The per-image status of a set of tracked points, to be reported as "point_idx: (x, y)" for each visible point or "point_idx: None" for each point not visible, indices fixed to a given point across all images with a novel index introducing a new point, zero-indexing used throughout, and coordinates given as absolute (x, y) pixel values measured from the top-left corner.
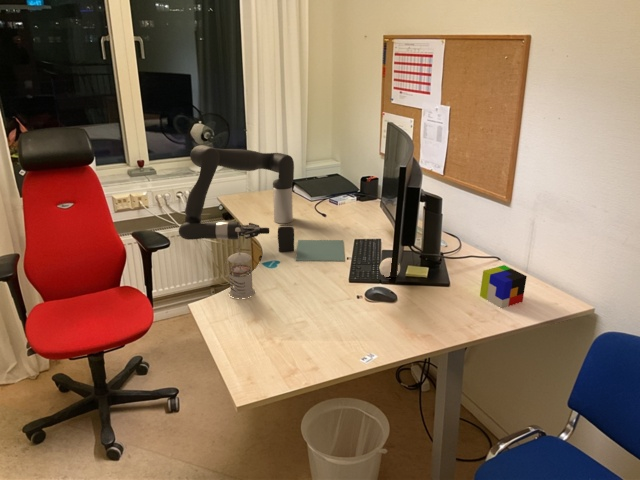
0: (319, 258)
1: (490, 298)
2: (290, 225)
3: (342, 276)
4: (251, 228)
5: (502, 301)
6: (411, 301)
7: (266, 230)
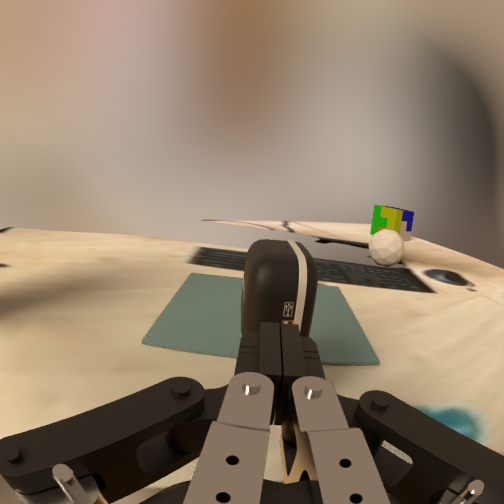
0: (339, 316)
1: (401, 236)
2: (273, 240)
3: (418, 297)
4: (366, 456)
5: (410, 233)
6: (441, 264)
7: (314, 343)
